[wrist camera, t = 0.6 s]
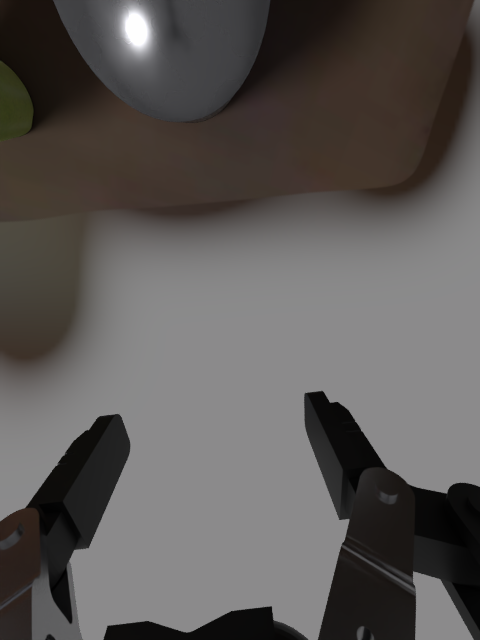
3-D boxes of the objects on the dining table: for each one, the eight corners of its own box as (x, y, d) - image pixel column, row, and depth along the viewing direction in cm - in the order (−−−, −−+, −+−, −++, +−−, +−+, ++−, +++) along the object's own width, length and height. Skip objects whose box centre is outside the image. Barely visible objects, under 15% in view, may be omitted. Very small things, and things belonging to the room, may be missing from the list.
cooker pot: (78, 17, 21) (-19, -65, 13) (181, -147, 17) (145, -437, 9) (183, 155, 28) (168, 163, 19) (276, 59, 24) (311, 13, 15)
